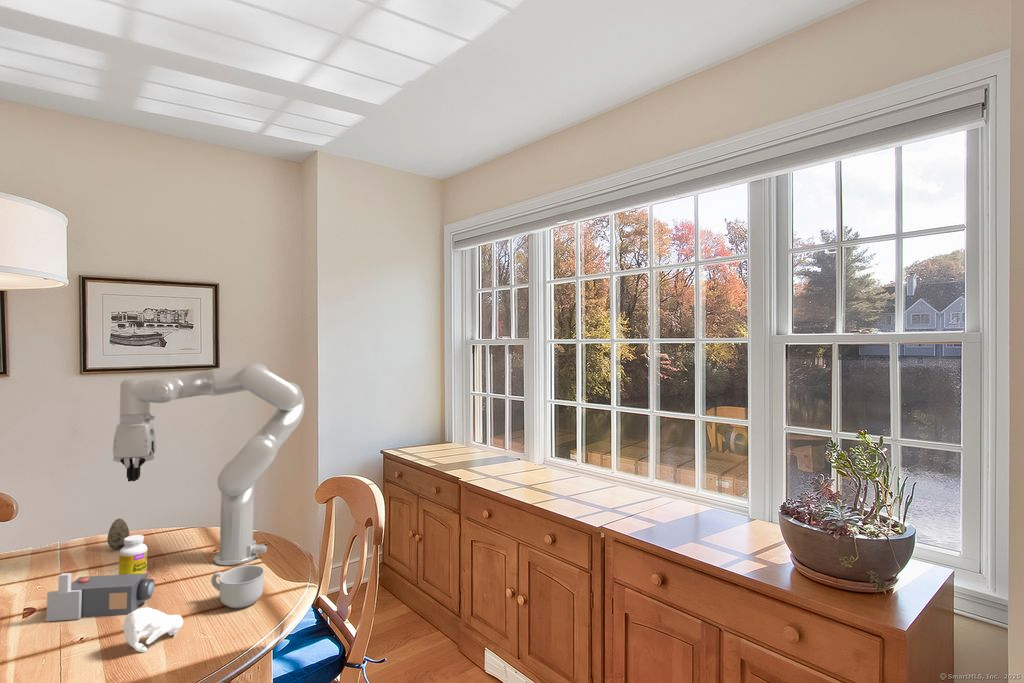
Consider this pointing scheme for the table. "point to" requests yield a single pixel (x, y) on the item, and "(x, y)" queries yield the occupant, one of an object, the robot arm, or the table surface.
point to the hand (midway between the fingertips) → (133, 480)
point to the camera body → (113, 593)
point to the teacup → (240, 585)
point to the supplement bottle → (133, 556)
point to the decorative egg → (118, 534)
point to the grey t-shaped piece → (64, 601)
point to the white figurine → (149, 626)
